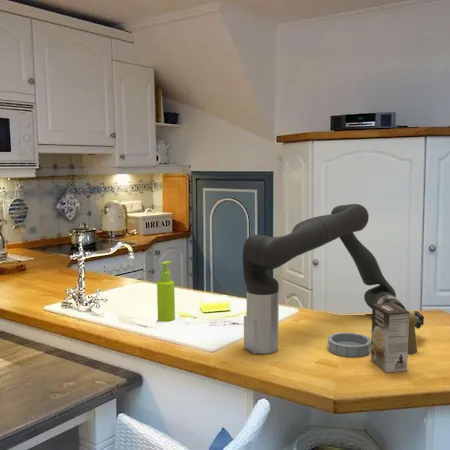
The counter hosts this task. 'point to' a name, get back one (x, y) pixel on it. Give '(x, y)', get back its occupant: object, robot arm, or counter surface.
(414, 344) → the cork
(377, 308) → the coffee box
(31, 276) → the counter surface
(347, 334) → the slate dish
